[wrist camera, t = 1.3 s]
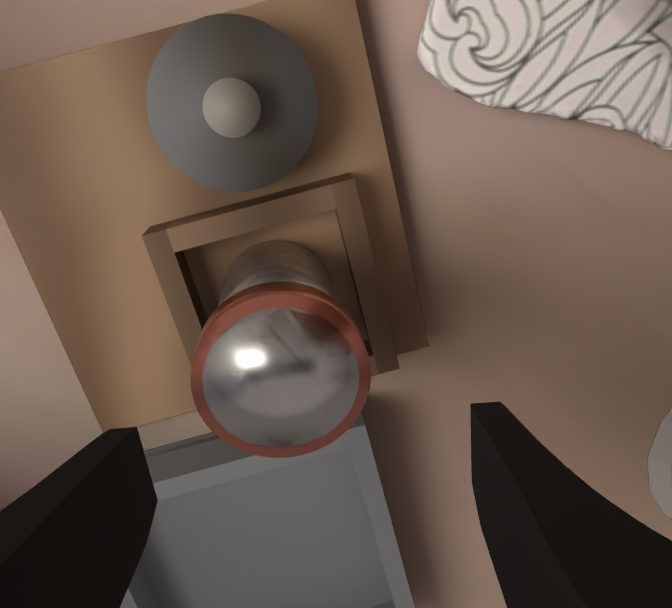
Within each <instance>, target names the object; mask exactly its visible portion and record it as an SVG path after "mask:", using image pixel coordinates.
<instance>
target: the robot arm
mask: <svg viewBox="0 0 672 608" xmlns="http://www.w3.org/2000/svg"><path fill="white" fill-rule="evenodd" d="M471 460H472V485H473V490H474V495H475V500H476V506H477V510H478V515H479V520H480V525H481V528H482V532H483V535H484V538H485V541H486V544H487V547H488V550H489V553H490V556H491V559H492V563H493V566H494V569H495V572H496V575H497V578H498V581H499V584H500V587H501V590H502V593H503V596H504V599H505V602H506V605H507V608H672V541H671V540H669V539H667V538H666V537H664V536H662V535H661V534H659V533H657V532H655V531H654V530H652V529H650V528H649V527H647V526H646V525H644V524H643V523H641V522H639V521H638V520H636V519H635V518H633V517H632V516H630V515H629V514H627V513H626V512H624V511H623V510H622V509H620V508H619V507H617V506H616V505H614V504H613V503H611V502H610V501H609V500H607V499H606V498H604V497H603V496H602V495H600V494H599V493H598V492H596V491H595V490H594V489H592V488H591V487H590V486H589V485H588V484H586V483H585V482H584V481H583V480H581V479H580V478H579V477H578V476H577V475H575V474H574V473H573V472H572V471H571V470H570V469H569V468H567V467H566V466H565V465H564V464H563V463H562V462H561V461H560V460H559V459H557V458H556V457H555V456H554V455H553V454H552V453H551V452H550V451H549V450H548V449H547V448H546V447H544V446H543V445H542V444H541V443H540V442H539V441H538V440H537V439H536V438H535V437H534V436H533V435H532V434H531V433H530V432H529V431H528V430H527V429H526V428H525V427H524V426H523V425H522V423H521V422H520V421H519V420H518V419H517V418H516V417H515V416H514V415H513V414H512V413H511V412H510V411H509V410H508V409H507V408H506V406H504V405H503V404H502V403H501V402H489V403H475V404H471ZM157 502H158V499H157V496H156V492H155V489H154V485H153V482H152V478H151V475H150V471H149V468H148V464H147V461H146V457H145V454H144V451H143V447H142V444H141V440H140V437H139V433H138V430H137V427H129V428H114V429H109V430H107V431H106V432H104V433H103V434H101V435H100V436H99V437H97V438H96V439H95V440H93V441H92V442H91V443H89V444H88V445H87V446H85V447H84V448H83V449H82V450H80V451H79V452H78V453H76V454H75V455H74V456H73V457H71V458H70V459H69V460H68V461H66V462H65V463H64V464H62V465H61V466H60V467H59V468H57V469H56V470H55V471H54V472H52V473H51V474H50V475H48V476H47V477H46V478H45V479H43V480H42V481H41V482H39V483H38V484H37V485H36V486H34V487H33V488H32V489H30V490H29V491H28V492H26V493H25V494H23V495H22V496H21V497H19V498H18V499H17V500H15V501H14V502H12V503H11V504H10V505H8V506H7V507H6V508H4V509H3V510H1V511H0V608H120V606H121V604H122V601H123V599H124V597H125V594H126V592H127V589H128V587H129V585H130V582H131V580H132V578H133V575H134V573H135V570H136V568H137V566H138V563H139V561H140V558H141V556H142V553H143V551H144V548H145V546H146V543H147V540H148V536H149V533H150V529H151V526H152V522H153V518H154V514H155V510H156V506H157Z"/></svg>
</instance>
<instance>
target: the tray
mask: <svg viewBox="0 0 672 608" xmlns="http://www.w3.org/2000/svg"><path fill="white" fill-rule="evenodd" d="M144 454H145V457H146V461H147V464H148V468H149V471H150V475H151V478H152V482H153V485H154V489H155V492H156V496H157V499H158V502H157V506H156V510H155V514H154V518H153V522H152V526H151V529H150V533H149V536H148V540H147V543H146V546H145V548H144V551H143V553H142V556H141V558H140V561H139V563H138V566H137V568H136V570H135V573H134V575H133V578H132V580H131V582H130V585H129V587H128V589H127V592H126V594H125V597H124V599H123V601H122V604H121V606H120V608H415V607H414V603H413V599H412V596H411V592H410V588H409V585H408V581H407V577H406V573H405V570H404V566H403V562H402V559H401V555H400V551H399V548H398V544H397V540H396V537H395V533H394V529H393V525H392V522H391V518H390V514H389V511H388V507H387V503H386V500H385V496H384V492H383V489H382V485H381V481H380V477H379V474H378V470H377V466H376V463H375V459H374V455H373V452H372V448H371V444H370V441H369V437H368V433H367V429H366V426H365V422H364V419H363V415H362V412H361V413H360V415H359V416H358V418H357V419H356V421H355V422H354V423H353V424H352V426H351V427H350V428H349V429H348V430H347V431H346V432H345V433H344V434H343V435H341V436H340V437H339V438H338V439H336V440H335V441H333V442H332V443H330V444H329V445H327V446H325V447H323V448H321V449H319V450H317V451H314V452H311V453H308V454H305V455H300V456H296V457H287V458H270V457H262V456H257V455H253V454H249V453H246V452H244V451H241V450H239V449H237V448H235V447H233V446H231V445H229V444H228V443H226V442H225V441H223V440H222V439H220V438H219V437H218V436H217V435H216V434H215V433H213V432H212V433H209V434H205V435H201V436H198V437H194V438H191V439H187V440H183V441H180V442H176V443H172V444H169V445H165V446H162V447H158V448H154V449H151V450H147V451H144Z"/></svg>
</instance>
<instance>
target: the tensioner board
mask: <svg viewBox="0 0 672 608" xmlns="http://www.w3.org/2000/svg"><path fill="white" fill-rule="evenodd" d="M0 209H1V212H2V214H3V216H4V218H5V220H6V222H7V225H8V227H9V229H10V231H11V233H12V235H13V238H14V240H15V242H16V244H17V246H18V249H19V251H20V253H21V255H22V257H23V259H24V262H25V264H26V266H27V268H28V270H29V272H30V275H31V277H32V279H33V281H34V283H35V286H36V288H37V290H38V292H39V294H40V296H41V299H42V301H43V303H44V305H45V307H46V309H47V312H48V314H49V316H50V318H51V320H52V323H53V325H54V327H55V329H56V331H57V333H58V336H59V338H60V340H61V342H62V344H63V347H64V349H65V351H66V353H67V355H68V357H69V360H70V362H71V364H72V366H73V368H74V370H75V373H76V375H77V377H78V379H79V381H80V384H81V386H82V388H83V390H84V392H85V394H86V397H87V399H88V401H89V403H90V405H91V407H92V410H93V412H94V414H95V416H96V418H97V421H98V423H99V425H100V427H101V429H102V431H103V433H104V432H106V431H107V430H109V429H114V428H129V427H136V426H140V425H143V424H147V423H151V422H154V421H158V420H162V419H165V418H169V417H173V416H176V415H180V414H184V413H187V412H191V411H194V410H197V408H196V406H195V403H194V400H193V396H192V391H191V385H190V373H191V366H192V361H193V358H194V354H195V350H196V347H197V343H198V340H199V337H200V333H201V331H202V329H203V327H204V325H205V323H206V322H207V320H208V319H209V317H210V316H211V314H212V313H213V312H214V311H215V310H216V309H217V307H218V304H219V299H220V295H221V291H222V287H223V282H224V279H225V275H226V273H227V271H228V268H229V267H230V265H231V264H232V262H233V261H234V260H235V259H236V257H237V256H238V255H239V254H241V253H242V252H243V251H244V250H246V249H247V248H249V247H251V246H253V245H255V244H257V243H260V242H264V241H268V240H287V241H292V242H295V243H298V244H301V245H303V246H305V247H307V248H308V249H310V250H311V251H313V252H314V253H315V254H316V255H317V256H318V257H319V258H320V259H321V260H322V261H323V263H324V264H325V266H326V268H327V270H328V272H329V274H330V277H331V280H332V283H333V286H334V289H335V293H336V296H337V299H338V302H339V303H340V304H341V305H342V306H343V307H344V308H345V309H346V310H347V311H348V312H349V314H350V315H351V317H352V318H353V319H354V321H355V323H356V325H357V327H358V329H359V332H360V334H361V337H362V340H363V342H364V345H365V348H366V351H367V354H368V357H369V362H370V367H371V376H374V375H378V374H381V373H385V372H388V371H392V370H396V369H399V364H398V359H397V355H398V354H402V353H405V352H409V351H413V350H416V349H420V348H424V347H427V346H429V343H428V339H427V334H426V329H425V324H424V320H423V315H422V310H421V306H420V301H419V296H418V292H417V287H416V282H415V278H414V273H413V268H412V264H411V259H410V254H409V250H408V245H407V240H406V236H405V231H404V226H403V221H402V217H401V212H400V207H399V203H398V198H397V193H396V189H395V184H394V179H393V175H392V170H391V165H390V161H389V156H388V151H387V147H386V142H385V137H384V132H383V128H382V123H381V118H380V114H379V109H378V104H377V100H376V95H375V90H374V86H373V81H372V76H371V72H370V67H369V62H368V58H367V53H366V48H365V44H364V39H363V34H362V29H361V25H360V20H359V15H358V11H357V6H356V1H355V0H270V1H266V2H263V3H259V4H255V5H251V6H248V7H244V8H240V9H236V10H233V11H229V12H225V13H221V14H215V15H210V16H205V17H203V18H200V19H197V20H194V21H191V22H188V23H184V24H180V25H176V26H173V27H169V28H165V29H161V30H158V31H154V32H150V33H146V34H143V35H139V36H135V37H131V38H128V39H124V40H120V41H116V42H113V43H109V44H105V45H101V46H98V47H94V48H90V49H86V50H83V51H79V52H75V53H71V54H68V55H64V56H60V57H56V58H53V59H49V60H45V61H41V62H38V63H34V64H30V65H26V66H23V67H19V68H15V69H11V70H8V71H4V72H0Z"/></svg>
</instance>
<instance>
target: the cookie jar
mask: <svg viewBox="0 0 672 608" xmlns="http://www.w3.org/2000/svg"><path fill="white" fill-rule="evenodd" d="M417 56H418V59H419V61H420V63H421V66H422V68H423V69H424V70H426V71H428V72H430V73H431V74H432V75H433V76H434V77H435V78H436V79H438V80H439V81H440V82H441V83H442V84H443V85H445V86H446V87H448V88H450V89H451V90H453V91H455V92H457V93H459V94H462V95H464V96H467V97H469V98H471V99H473V100H475V101H477V102H479V103H482V104H484V105H487V106H490V107H492V108H503V109H515V110H519V111H523V112H526V113H543V114H548V115H553V116H555V117H557V118H560V119H562V120H572V119H577V120H582V121H587V122H589V123H593V124H598V125H603V126H608V127H612V128H614V129H617V130H627V131H630V132H633V133H636V134H638V135H639V136H640V137H641V138H643V139H644V140H645V141H647V142H654V143H655V144H656V145H657V146H658V147H659V148H660V149H667V150H672V0H430V1H429V6H428V11H427V16H426V19H425V23H424V26H423V29H422V32H421V35H420V39H419V44H418V50H417Z"/></svg>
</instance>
